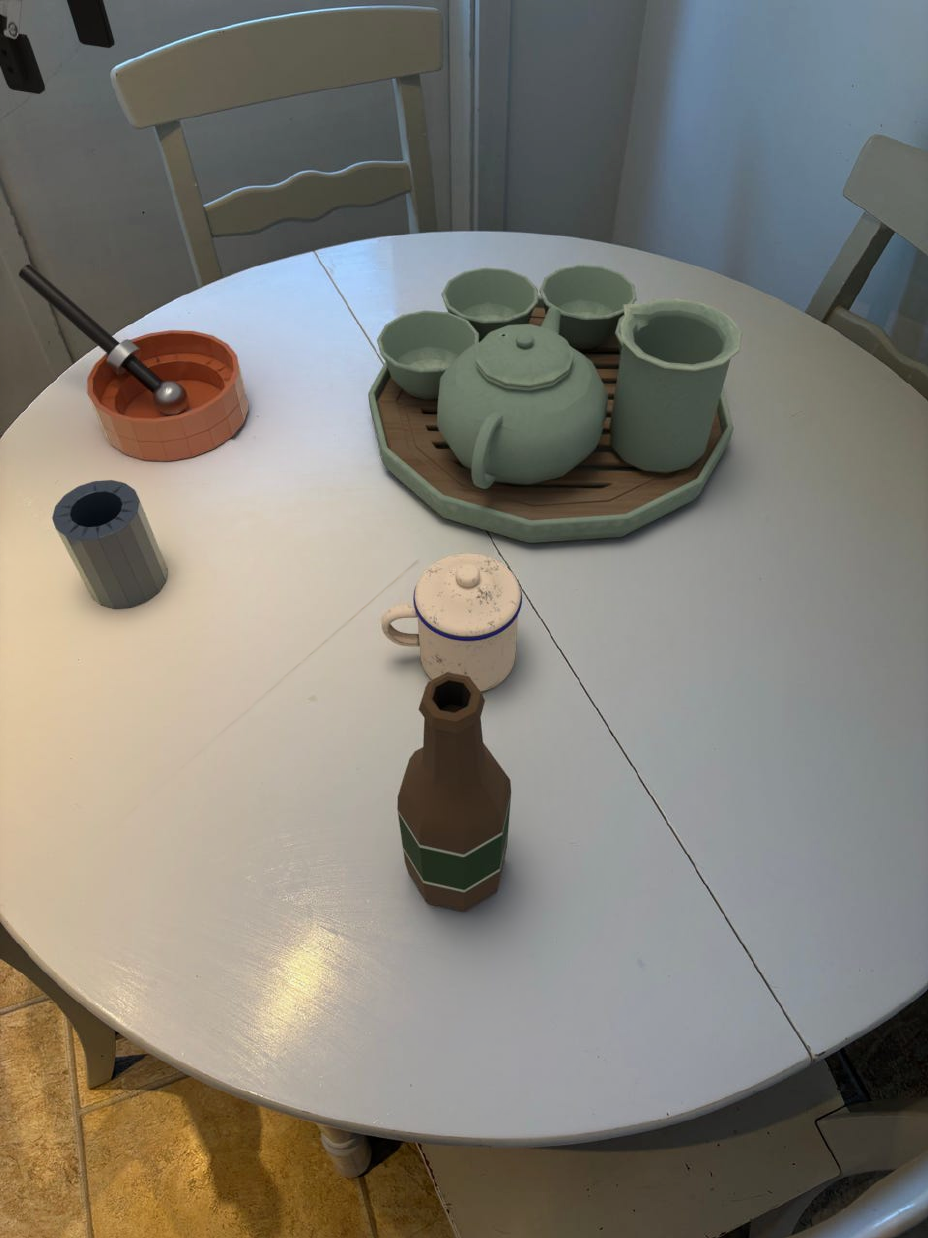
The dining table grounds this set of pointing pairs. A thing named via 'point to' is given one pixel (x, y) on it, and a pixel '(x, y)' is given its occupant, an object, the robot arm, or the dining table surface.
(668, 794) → the dining table surface
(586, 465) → the tea set
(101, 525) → the crock
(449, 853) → the beer bottle
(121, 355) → the ball-tipped black rod
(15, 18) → the robot arm
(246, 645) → the dining table surface
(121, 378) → the bowl
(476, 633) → the teacup with lid
